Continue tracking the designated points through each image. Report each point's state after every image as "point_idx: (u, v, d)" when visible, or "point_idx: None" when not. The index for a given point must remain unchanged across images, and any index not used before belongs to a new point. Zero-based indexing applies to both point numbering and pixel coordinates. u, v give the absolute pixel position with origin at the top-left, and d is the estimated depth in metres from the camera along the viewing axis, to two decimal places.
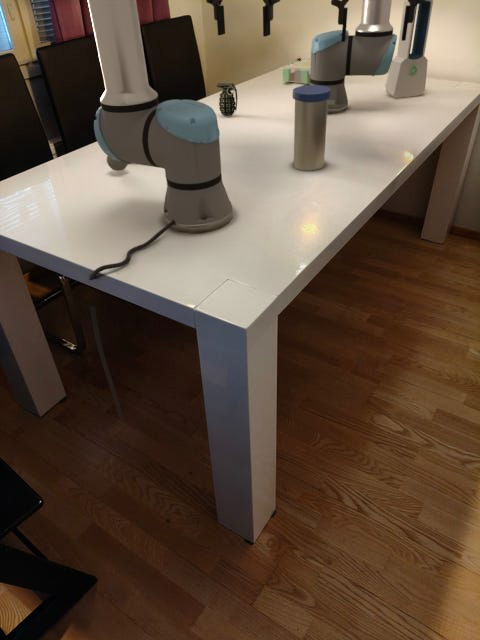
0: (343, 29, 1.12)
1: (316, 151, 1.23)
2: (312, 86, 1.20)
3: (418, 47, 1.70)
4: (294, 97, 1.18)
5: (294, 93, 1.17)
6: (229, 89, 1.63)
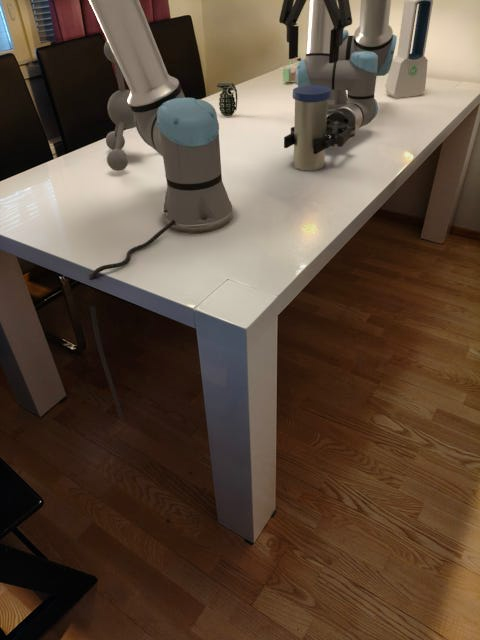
0: None
1: None
2: (312, 86, 1.20)
3: (418, 47, 1.70)
4: (294, 97, 1.18)
5: (294, 93, 1.17)
6: (229, 89, 1.63)
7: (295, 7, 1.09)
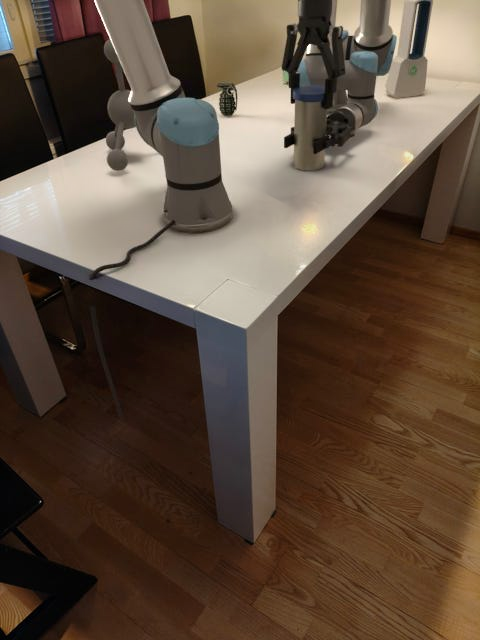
0: None
1: None
2: (312, 86, 1.20)
3: (418, 47, 1.70)
4: (294, 97, 1.18)
5: (294, 93, 1.17)
6: (229, 89, 1.63)
7: (296, 56, 1.15)
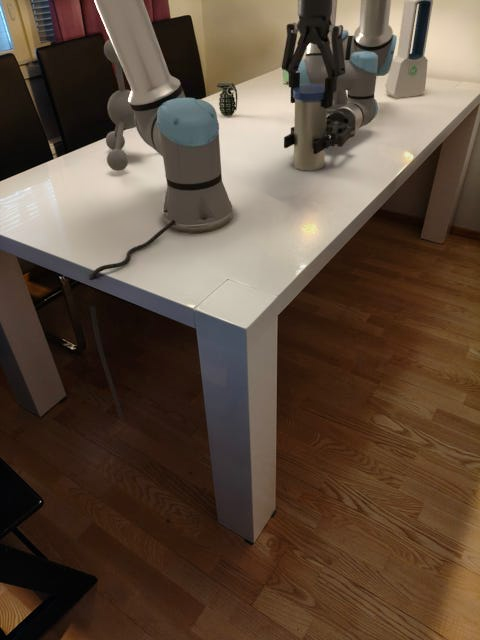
0: None
1: None
2: (299, 90, 1.17)
3: (418, 47, 1.70)
4: None
5: None
6: (229, 89, 1.63)
7: (296, 55, 1.15)
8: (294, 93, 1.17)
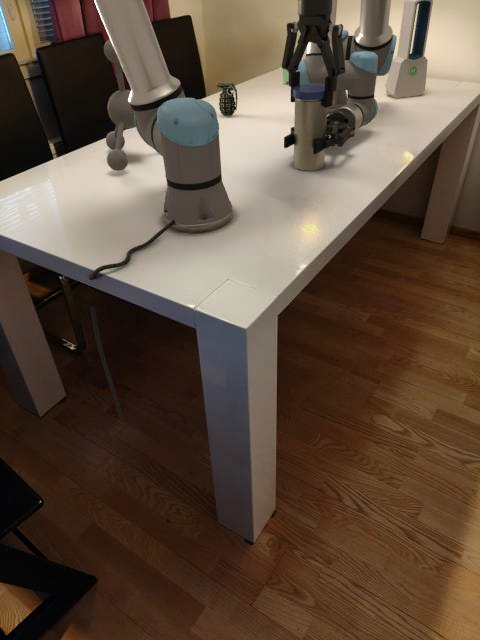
0: None
1: None
2: (321, 89, 1.16)
3: (418, 47, 1.70)
4: None
5: None
6: (229, 89, 1.63)
7: (296, 54, 1.15)
8: None
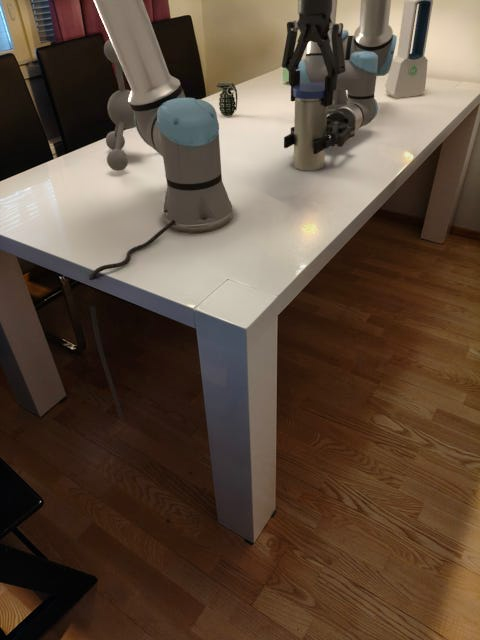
0: None
1: None
2: (315, 83, 1.20)
3: (418, 47, 1.70)
4: (293, 93, 1.18)
5: (293, 89, 1.18)
6: (229, 89, 1.63)
7: (296, 53, 1.15)
8: None
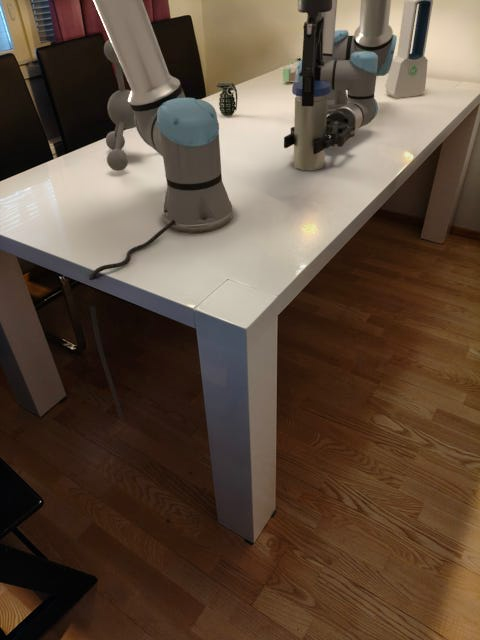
0: None
1: None
2: (298, 85, 1.17)
3: (418, 47, 1.70)
4: (322, 93, 1.15)
5: (322, 89, 1.14)
6: (229, 89, 1.63)
7: (315, 55, 1.10)
8: (292, 88, 1.17)
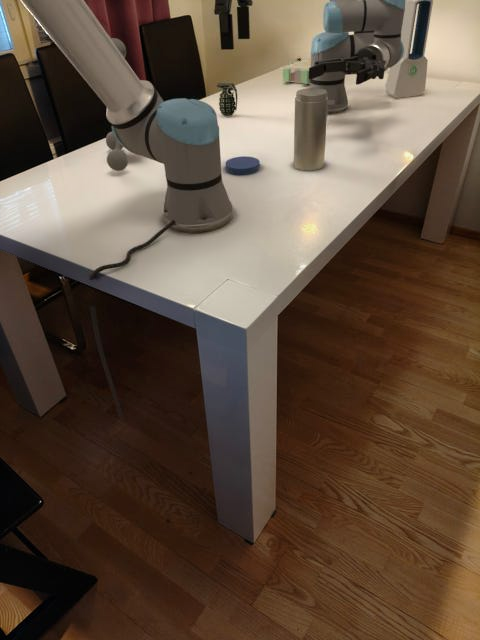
0: None
1: (316, 151, 1.23)
2: (230, 163, 1.28)
3: (418, 47, 1.70)
4: (251, 172, 1.26)
5: (250, 168, 1.25)
6: (229, 89, 1.63)
7: None
8: (225, 165, 1.29)
